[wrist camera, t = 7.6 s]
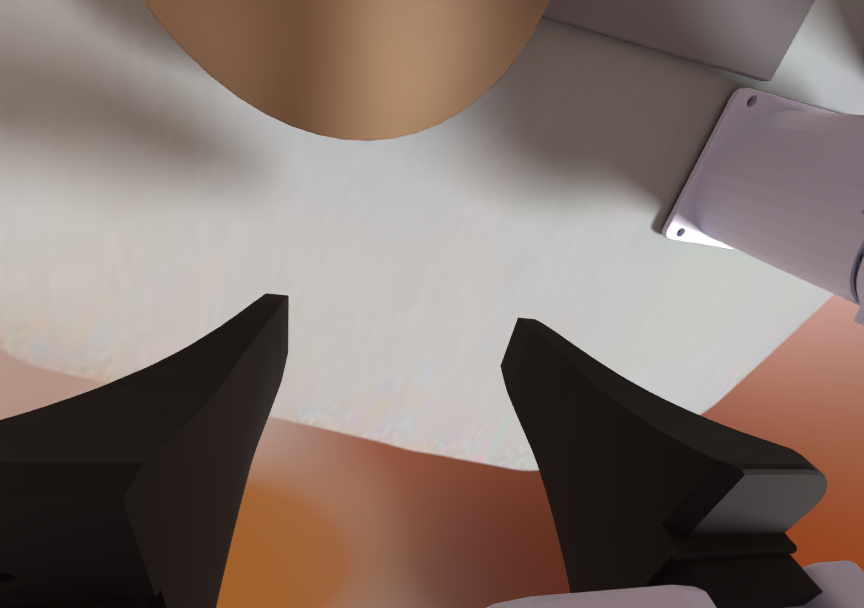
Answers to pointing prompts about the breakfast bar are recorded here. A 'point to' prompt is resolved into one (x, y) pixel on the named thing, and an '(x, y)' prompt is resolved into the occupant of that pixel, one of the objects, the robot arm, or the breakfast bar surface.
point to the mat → (696, 28)
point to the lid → (353, 57)
